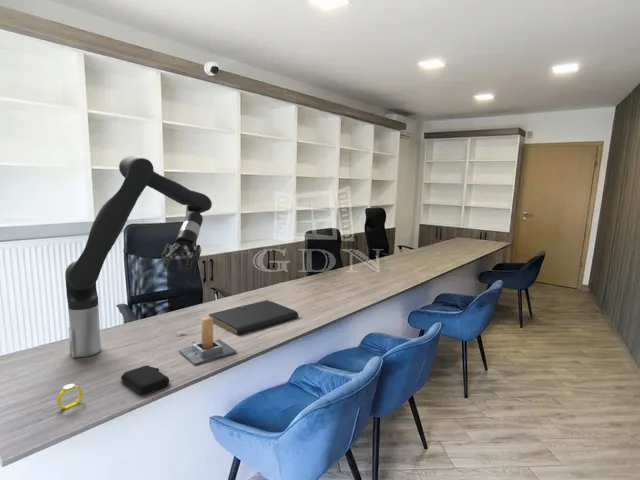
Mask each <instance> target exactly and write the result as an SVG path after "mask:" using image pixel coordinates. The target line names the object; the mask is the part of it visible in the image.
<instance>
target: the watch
mask: <svg viewBox="0 0 640 480" xmlns="http://www.w3.org/2000/svg"><path fill="white" fill-rule="evenodd" d="M74 389H77V390H78V396H77V398H76V400H75V401H74V402H71V403H68V404H67V405H62V404H61V399H62V397H63V395H64V394H65V393H66V392H69V391H70V392H71V391H72V390H74ZM83 394H84V393H83V389H82V388H81V387H80V386H78V385H76V384H75V383H68V384H65V385H63V386H62V389H61V390H60V391H59V393H58V395H57V397H56V404H57V405H58V407H59V408H61V409H62V410H63V409H64V410H67V409H70V408H72V407H74V406H76V405H77V406H78V404H79V403H80V401H81V400H82V398H83Z"/></svg>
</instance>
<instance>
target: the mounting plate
mask: <svg viewBox="0 0 640 480" xmlns="http://www.w3.org/2000/svg"><path fill="white" fill-rule="evenodd" d="M178 353H179V354H180V355H182V356H183V357H184V358H185V359H186V360H188V361H189V362H190V363H191V364H192V365H193V366H198V365H202V364H204V363H207V362H209V363H210V362H212V361H215V360H218V359H222V358H225V357H228V356H232V355H235V354H237V353H238V350H236V349H235V348H233V347H231V346H230V345H228V344H227V343H226V342H224V341H223V340H221V339H220V338H219V339H214V338H213V348H209V349H206V350H203V349H202V341H201V342H197V343H193V344H192V346H188V347H184V348H181V349H178Z"/></svg>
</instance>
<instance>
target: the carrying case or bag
mask: <svg viewBox="0 0 640 480" xmlns="http://www.w3.org/2000/svg"><path fill="white" fill-rule="evenodd" d="M120 379H121V382H123V383H124V384H125V385H126V386H128V387H130V388H131V389H132V390H133V391H135V392H136V393H137V394H139V395H141V396H145V395H149V394H150V393H153V392H156V391H158V390H161V389H163V388H165V387H167V386H168V385H169V384H170V381H171V380H170V378H169V377H168V376H167V375H165V374H163V373H162V371H160V368H158V367H154V366H151V365H142V366H140V367H136V368H134V369H131V370H128V371H126V372H124V373H123V374H122V375H121V377H120Z"/></svg>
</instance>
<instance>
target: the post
mask: <svg viewBox="0 0 640 480" xmlns="http://www.w3.org/2000/svg"><path fill="white" fill-rule="evenodd" d="M200 322H201V327H200V328H201V329H200V330H201V342H202V349H203V350H206V349H209V348H213V339H214V323H213V318H212V317H209V316H206V317H205V316H204V317H202V318H201V319H200Z"/></svg>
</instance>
